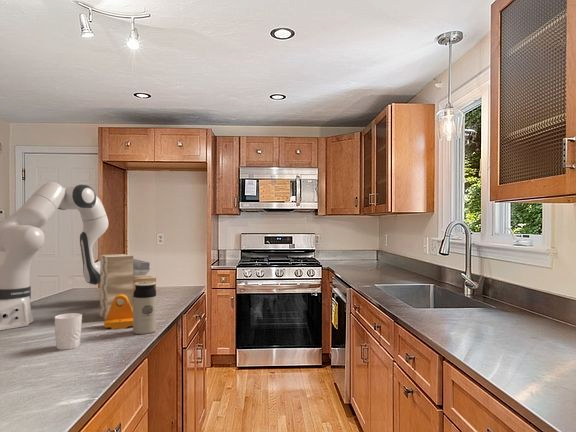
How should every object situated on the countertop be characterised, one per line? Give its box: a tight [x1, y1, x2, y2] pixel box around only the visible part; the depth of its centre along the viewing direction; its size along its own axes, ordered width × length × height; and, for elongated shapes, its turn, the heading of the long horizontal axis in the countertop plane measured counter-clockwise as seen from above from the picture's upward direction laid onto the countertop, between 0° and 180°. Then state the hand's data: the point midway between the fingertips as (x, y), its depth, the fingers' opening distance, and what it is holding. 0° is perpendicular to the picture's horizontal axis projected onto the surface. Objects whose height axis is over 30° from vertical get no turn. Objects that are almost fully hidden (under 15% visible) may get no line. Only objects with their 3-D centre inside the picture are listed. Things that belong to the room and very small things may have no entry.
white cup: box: [54, 312, 83, 351], centre depth 133 cm, size 8×8×10 cm
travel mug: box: [132, 282, 157, 335], centre depth 152 cm, size 8×8×18 cm
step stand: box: [99, 253, 157, 320], centre depth 179 cm, size 12×20×26 cm, turn 129°
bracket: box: [103, 294, 133, 330], centre depth 159 cm, size 11×7×12 cm, turn 108°
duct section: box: [133, 258, 151, 270], centre depth 185 cm, size 20×4×3 cm, turn 39°
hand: (132, 262), depth 190 cm, fingers closed on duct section, 4 cm apart
